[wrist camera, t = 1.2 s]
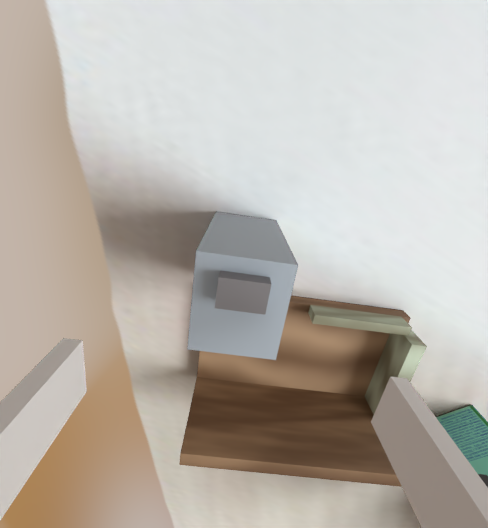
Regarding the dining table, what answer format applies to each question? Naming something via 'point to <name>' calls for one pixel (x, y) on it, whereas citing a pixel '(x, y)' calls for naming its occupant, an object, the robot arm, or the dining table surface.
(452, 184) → the dining table surface
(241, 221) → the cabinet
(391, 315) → the brown wooden l-shaped piece
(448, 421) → the milk carton
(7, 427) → the robot arm
